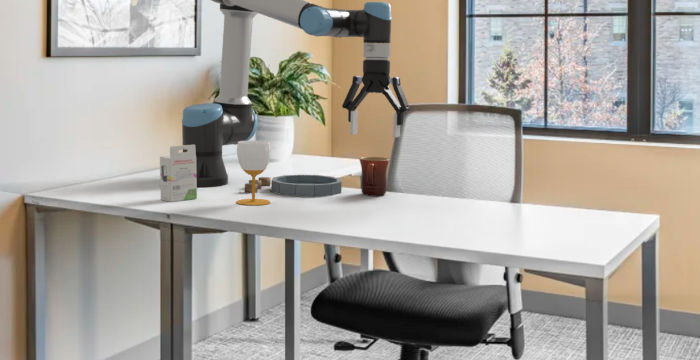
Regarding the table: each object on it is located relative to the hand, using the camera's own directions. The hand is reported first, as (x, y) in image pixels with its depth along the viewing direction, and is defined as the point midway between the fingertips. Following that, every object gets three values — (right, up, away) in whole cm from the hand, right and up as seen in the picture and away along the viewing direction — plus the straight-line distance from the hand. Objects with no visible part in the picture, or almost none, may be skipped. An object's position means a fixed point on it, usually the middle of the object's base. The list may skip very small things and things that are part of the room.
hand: (374, 135), depth 248 cm
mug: (-1, -17, +3) cm, 17 cm away
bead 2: (-35, -15, +10) cm, 39 cm away
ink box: (-53, -18, -12) cm, 57 cm away
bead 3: (-32, -14, +15) cm, 39 cm away
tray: (-20, -16, +8) cm, 26 cm away
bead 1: (-35, -16, +3) cm, 39 cm away
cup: (-33, -19, -14) cm, 40 cm away
